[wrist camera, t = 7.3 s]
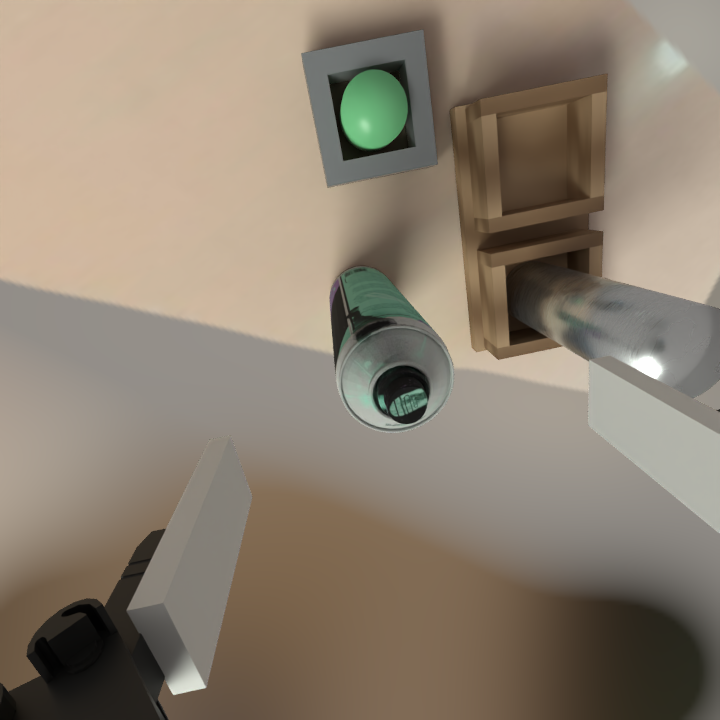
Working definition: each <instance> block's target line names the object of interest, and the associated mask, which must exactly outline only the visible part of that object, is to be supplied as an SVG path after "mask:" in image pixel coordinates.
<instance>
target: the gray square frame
mask: <svg viewBox="0 0 720 720" xmlns="http://www.w3.org/2000/svg"><path fill="white" fill-rule="evenodd" d="M301 55H302V62H303V68H304V73H305V78H306V83H307V88H308V93H309V98H310V103H311V108H312V113H313V118H314V123H315V128H316V133H317V138H318V143H319V148H320V153H321V158H322V163H323V168H324V173H325V178H326V183H327V188H329V187H334V186H339V185H344V184H349V183H354V182H359V181H364V180H368V179H373V178H378V177H383V176H388V175H393V174H398V173H403V172H408V171H413V170H418V169H423V168H428V167H431V166H434V165H437V164H438V162H437V153H436V144H435V134H434V125H433V116H432V106H431V97H430V88H429V78H428V69H427V60H426V51H425V41H424V32H423V29H422V30H417V31H412V32H407V33H402V34H397V35H392V36H387V37H382V38H377V39H372V40H367V41H362V42H357V43H352V44H347V45H341V46H336V47H331V48H326V49H321V50H316V51H311V52H306V53H301ZM373 69H375V70H382V71H385V72H387V73H389V72H394V71H399V78H400V84H401V86H402V87H403V89H404V91H405V94H406V97H407V103H408V113H407V119H406V122H405V125H406V132H407V140H408V148H406V149H401V150H396V151H391V152H386V153H382V154H377V155H372V156H367V157H362V158H357V159H352V160H347V161H343V157H342V151H341V146H340V140H339V135H338V130H337V124H336V119H335V113H334V108H333V102H332V97H331V92H330V86H329V84H334V83H339V82H344V81H349V80H352V79H353V78H354V77H355V76H357V75H358V74H360V73H362V72H364V71H367V70H373Z"/></svg>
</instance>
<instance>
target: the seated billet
mask: <svg viewBox="0 0 720 720" xmlns="http://www.w3.org/2000/svg"><path fill="white" fill-rule="evenodd" d="M506 292H507V310H508V313H509V314H510V315H511V316H513V317H514V318H516V319H518V320H520V321H521V322H523V323H525V324H526V325H528V326H530V327H531V328H533V329H535V330H536V331H538V332H540V333H542V334H543V335H545V336H547V337H548V338H550V339H552V340H553V341H555V342H557V343H558V344H560V345H562V346H564V347H565V348H567V349H569V350H570V351H572V352H574V353H575V354H577V355H579V356H580V357H582V358H584V359H586V360H587V361H589V360H590V359H595V358H600V357H605V356H609V355H610V356H612V357H614V358H616V359H618V360H620V361H622V362H623V363H625V364H627V365H629V366H631V367H633V368H635V369H637V370H639V371H641V372H643V373H645V374H647V375H649V376H651V377H652V378H654V379H656V380H658V381H660V382H662V383H664V384H666V385H668V386H670V387H672V388H674V389H676V390H678V391H680V392H682V393H683V394H685V395H687V396H689V397H691V398H695V397H697V396H699V395H701V394H702V393H704V392H706V391H707V390H708V389H710V388H711V387H712V386H713V385H714V384H716V383H717V382H718V381H719V380H720V309H718V308H715V307H712V306H708V305H704V304H701V303H697V302H693V301H689V300H685V299H682V298H678V297H674V296H670V295H666V294H663V293H659V292H655V291H651V290H647V289H644V288H640V287H636V286H632V285H629V284H625V283H621V282H617V281H613V280H610V279H606V278H602V277H598V276H594V275H591V274H587V273H583V272H579V271H575V270H572V269H568V268H564V267H560V266H556V265H553V264H549V263H545V262H541V261H528V262H525V263H522V264H520V265H518V266H517V267H515V268H514V269H513V270H512V271H511V272H510V273H509V274H508V276H507V277H506Z"/></svg>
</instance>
